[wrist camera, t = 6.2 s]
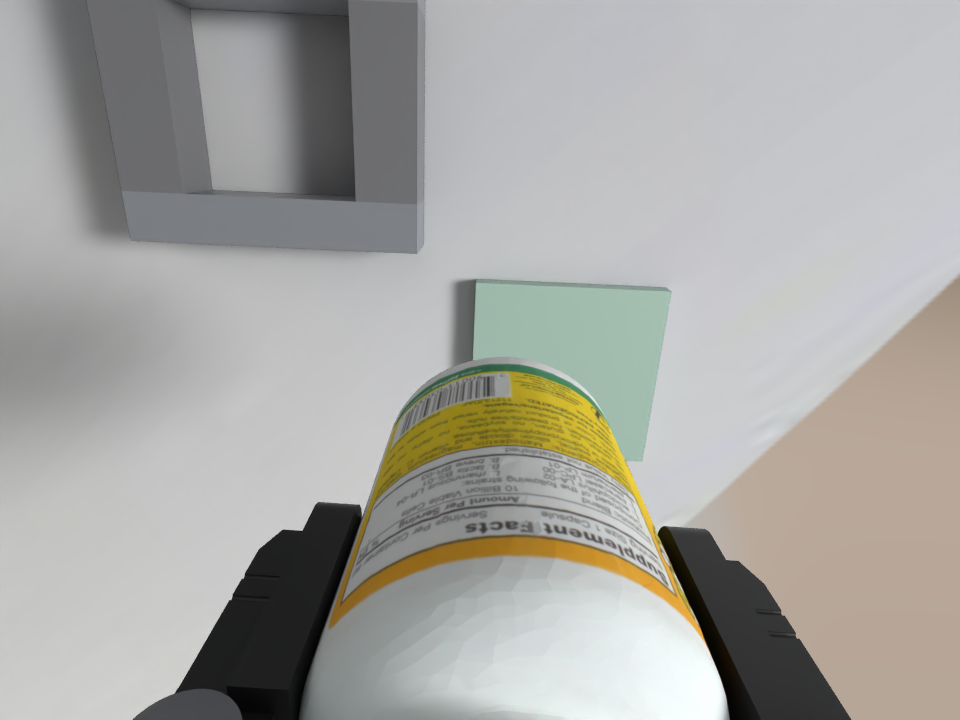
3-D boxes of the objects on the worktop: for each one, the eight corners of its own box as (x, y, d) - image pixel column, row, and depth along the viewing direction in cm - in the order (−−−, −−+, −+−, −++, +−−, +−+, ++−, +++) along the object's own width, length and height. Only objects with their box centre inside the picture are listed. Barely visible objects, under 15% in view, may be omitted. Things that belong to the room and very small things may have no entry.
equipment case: (96, -181, 20) (-602, -784, 7) (426, -165, 20) (317, -735, 7) (163, 232, 25) (-168, 312, 12) (423, 244, 25) (358, 335, 12)
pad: (476, 279, 25) (476, 282, 25) (666, 287, 26) (671, 291, 25) (469, 446, 29) (469, 453, 28) (637, 453, 29) (642, 461, 28)
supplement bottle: (438, 314, 12) (282, 828, 3) (653, 402, 12) (1080, 1039, 4) (360, 503, 14) (112, 1184, 5) (552, 571, 14) (662, 1279, 5)
